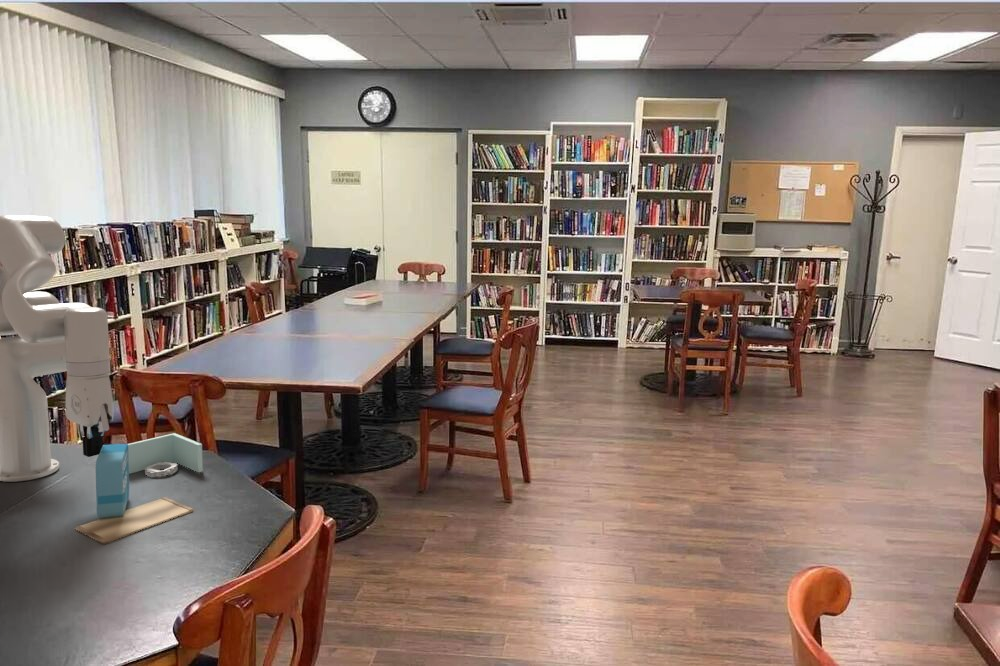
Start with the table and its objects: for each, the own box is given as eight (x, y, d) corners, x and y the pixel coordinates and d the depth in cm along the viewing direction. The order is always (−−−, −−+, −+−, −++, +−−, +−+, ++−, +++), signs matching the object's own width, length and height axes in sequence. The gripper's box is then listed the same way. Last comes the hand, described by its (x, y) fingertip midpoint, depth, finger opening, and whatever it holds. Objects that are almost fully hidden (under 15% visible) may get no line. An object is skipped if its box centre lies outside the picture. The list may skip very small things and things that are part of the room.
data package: (123, 518, 131) (122, 460, 129) (96, 521, 129) (95, 462, 127) (129, 495, 142) (128, 441, 140) (105, 497, 140) (103, 442, 138)
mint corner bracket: (125, 475, 154) (124, 444, 153) (175, 462, 164) (174, 433, 163) (152, 489, 148) (150, 457, 146) (202, 474, 157) (202, 444, 156)
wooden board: (75, 529, 126) (74, 527, 126) (164, 498, 141) (164, 496, 141) (103, 544, 121) (103, 541, 121) (193, 511, 136) (193, 508, 136)
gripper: (49, 365, 135) (55, 451, 138) (89, 376, 128) (94, 467, 131) (88, 360, 142) (92, 442, 144) (128, 370, 134) (131, 457, 137)
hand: (93, 454), depth 138 cm, fingers closed
